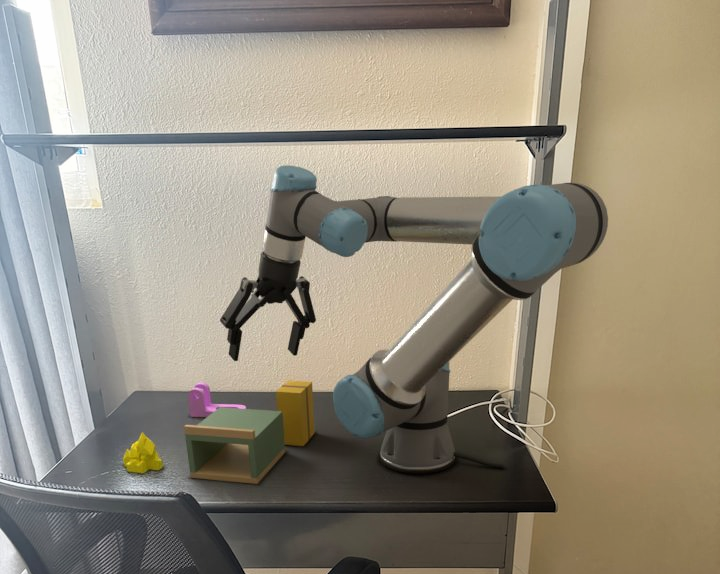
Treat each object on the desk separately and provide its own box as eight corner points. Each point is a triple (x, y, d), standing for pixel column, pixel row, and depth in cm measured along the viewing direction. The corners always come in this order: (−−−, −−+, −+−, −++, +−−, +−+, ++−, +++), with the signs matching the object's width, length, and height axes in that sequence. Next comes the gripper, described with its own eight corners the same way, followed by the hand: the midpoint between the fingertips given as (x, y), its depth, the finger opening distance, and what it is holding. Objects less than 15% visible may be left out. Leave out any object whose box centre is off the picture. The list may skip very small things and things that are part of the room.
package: (314, 433, 158) (312, 381, 153) (303, 446, 151) (300, 393, 146) (291, 431, 160) (288, 380, 154) (279, 444, 152) (275, 391, 147)
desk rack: (285, 452, 148) (282, 403, 144) (257, 484, 134) (252, 431, 130) (224, 447, 152) (219, 399, 147) (190, 477, 138) (183, 426, 133)
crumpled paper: (134, 459, 146) (128, 424, 143) (168, 463, 144) (163, 427, 141) (118, 470, 141) (111, 434, 138) (152, 474, 139) (147, 438, 136)
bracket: (190, 416, 169) (187, 389, 166) (197, 409, 174) (194, 382, 171) (243, 417, 168) (240, 389, 165) (248, 410, 173) (246, 382, 170)
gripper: (327, 247, 140) (306, 341, 152) (210, 246, 126) (198, 350, 138) (346, 263, 135) (323, 359, 148) (228, 264, 121) (214, 369, 134)
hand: (263, 355), depth 143 cm, fingers open, 13 cm apart
